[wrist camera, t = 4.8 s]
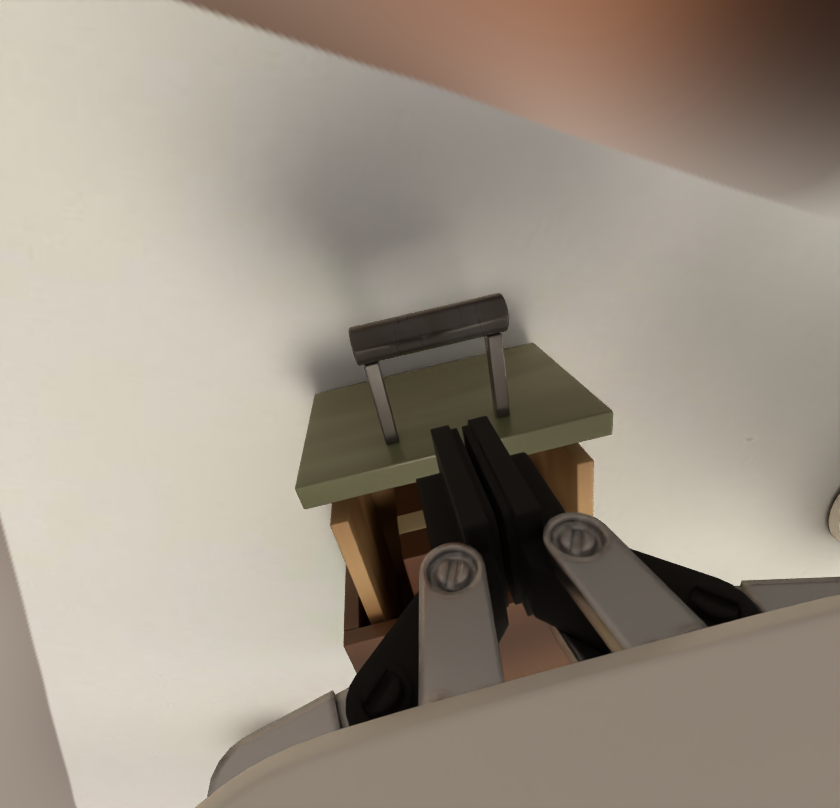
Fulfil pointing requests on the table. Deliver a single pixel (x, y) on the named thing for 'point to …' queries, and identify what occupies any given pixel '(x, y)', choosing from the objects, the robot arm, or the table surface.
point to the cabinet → (519, 647)
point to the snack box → (412, 531)
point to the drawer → (430, 408)
